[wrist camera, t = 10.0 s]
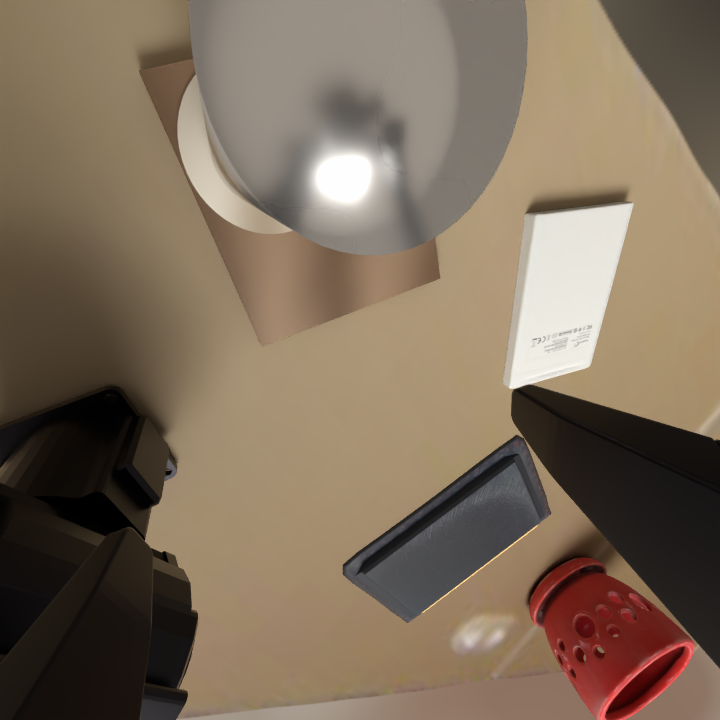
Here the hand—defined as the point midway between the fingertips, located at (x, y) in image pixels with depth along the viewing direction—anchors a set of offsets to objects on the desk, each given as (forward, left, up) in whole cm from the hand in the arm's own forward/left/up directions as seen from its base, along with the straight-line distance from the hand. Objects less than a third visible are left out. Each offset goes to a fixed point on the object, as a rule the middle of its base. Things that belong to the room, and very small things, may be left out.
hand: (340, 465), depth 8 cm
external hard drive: (+19, -7, -14) cm, 25 cm away
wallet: (+8, -28, -14) cm, 32 cm away
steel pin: (+2, +7, -12) cm, 14 cm away
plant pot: (+21, -48, -13) cm, 54 cm away
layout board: (+4, +4, -13) cm, 14 cm away
